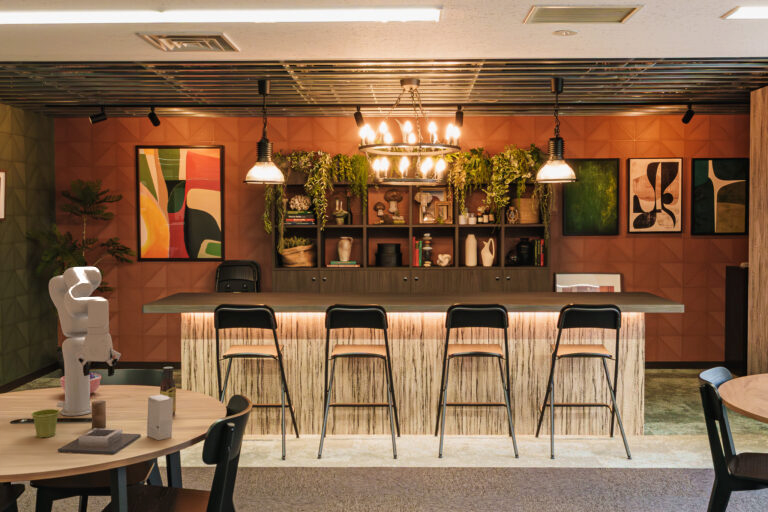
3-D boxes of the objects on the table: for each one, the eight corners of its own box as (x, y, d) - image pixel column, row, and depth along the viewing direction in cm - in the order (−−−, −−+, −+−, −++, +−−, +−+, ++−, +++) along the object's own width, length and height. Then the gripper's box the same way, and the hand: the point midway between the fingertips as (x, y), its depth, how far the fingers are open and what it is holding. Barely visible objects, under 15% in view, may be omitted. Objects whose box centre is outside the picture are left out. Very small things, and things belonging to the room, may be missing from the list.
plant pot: (41, 441, 245) (40, 417, 244) (26, 436, 250) (26, 413, 249) (65, 434, 253) (65, 411, 252) (50, 430, 258) (50, 407, 257)
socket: (58, 452, 233) (57, 440, 233) (88, 434, 253) (88, 424, 253) (113, 454, 231) (113, 442, 231) (140, 436, 251) (140, 426, 251)
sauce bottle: (170, 418, 276) (170, 369, 275) (156, 417, 277) (156, 368, 276) (178, 414, 282) (178, 366, 282) (165, 413, 284) (164, 365, 283)
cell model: (97, 388, 327) (97, 365, 326) (103, 397, 310) (103, 372, 309) (58, 392, 318) (58, 368, 318) (63, 401, 301) (62, 376, 301)
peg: (89, 429, 259) (89, 403, 259) (95, 425, 264) (95, 400, 264) (101, 429, 259) (101, 403, 259) (108, 426, 264) (108, 400, 264)
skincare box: (146, 436, 251) (146, 396, 251) (161, 432, 256) (161, 393, 256) (159, 441, 246) (158, 400, 246) (173, 437, 251) (173, 397, 250)
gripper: (71, 332, 257) (71, 377, 258) (115, 332, 256) (115, 377, 256) (82, 329, 265) (82, 373, 265) (124, 330, 263) (125, 374, 264)
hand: (98, 375), depth 261 cm, fingers open, 9 cm apart
